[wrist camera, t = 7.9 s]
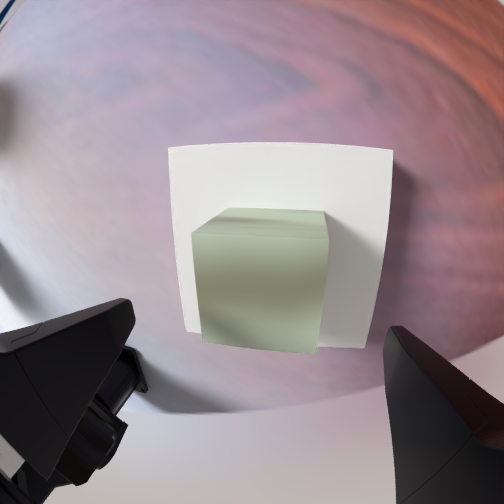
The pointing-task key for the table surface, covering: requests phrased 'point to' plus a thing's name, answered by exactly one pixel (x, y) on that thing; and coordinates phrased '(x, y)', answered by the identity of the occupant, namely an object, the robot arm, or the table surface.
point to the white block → (298, 198)
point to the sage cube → (262, 278)
